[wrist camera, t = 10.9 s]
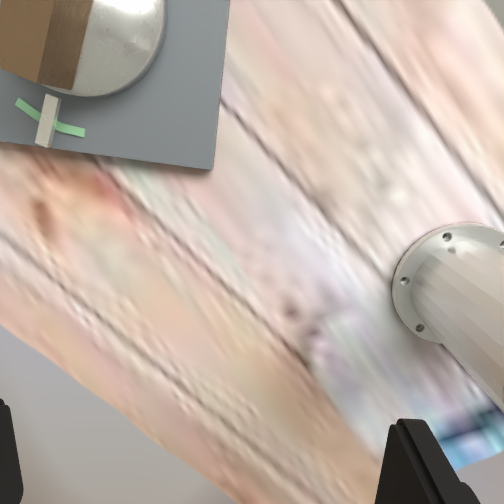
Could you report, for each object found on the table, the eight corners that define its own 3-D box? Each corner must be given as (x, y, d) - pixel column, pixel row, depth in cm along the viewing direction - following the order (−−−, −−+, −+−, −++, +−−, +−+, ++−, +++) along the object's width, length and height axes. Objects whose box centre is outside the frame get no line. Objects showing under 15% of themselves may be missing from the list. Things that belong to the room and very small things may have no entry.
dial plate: (243, -133, 28) (242, -149, 27) (213, 168, 35) (211, 170, 33) (-61, -183, 28) (-81, -203, 26) (-33, 135, 34) (-47, 135, 33)
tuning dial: (15, -131, 27) (-62, -216, 20) (190, -49, 28) (171, -104, 22) (-26, 114, 32) (-100, 110, 25) (124, 173, 33) (92, 184, 27)
